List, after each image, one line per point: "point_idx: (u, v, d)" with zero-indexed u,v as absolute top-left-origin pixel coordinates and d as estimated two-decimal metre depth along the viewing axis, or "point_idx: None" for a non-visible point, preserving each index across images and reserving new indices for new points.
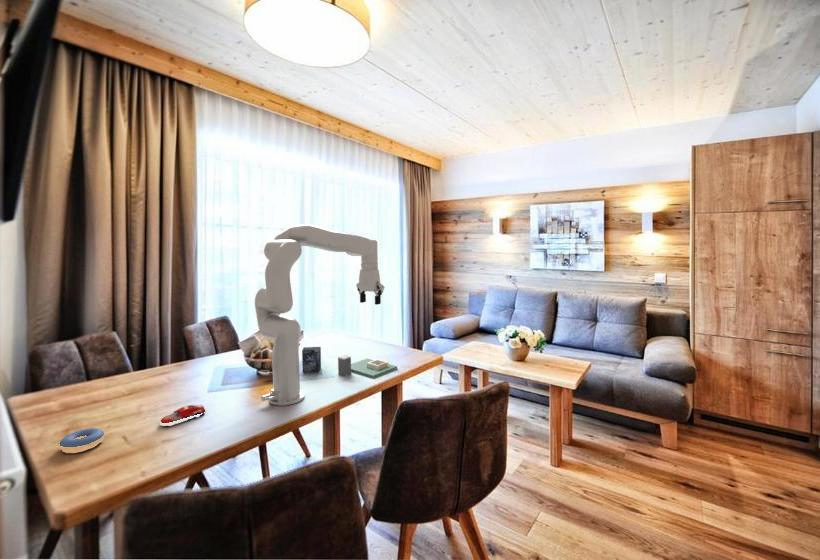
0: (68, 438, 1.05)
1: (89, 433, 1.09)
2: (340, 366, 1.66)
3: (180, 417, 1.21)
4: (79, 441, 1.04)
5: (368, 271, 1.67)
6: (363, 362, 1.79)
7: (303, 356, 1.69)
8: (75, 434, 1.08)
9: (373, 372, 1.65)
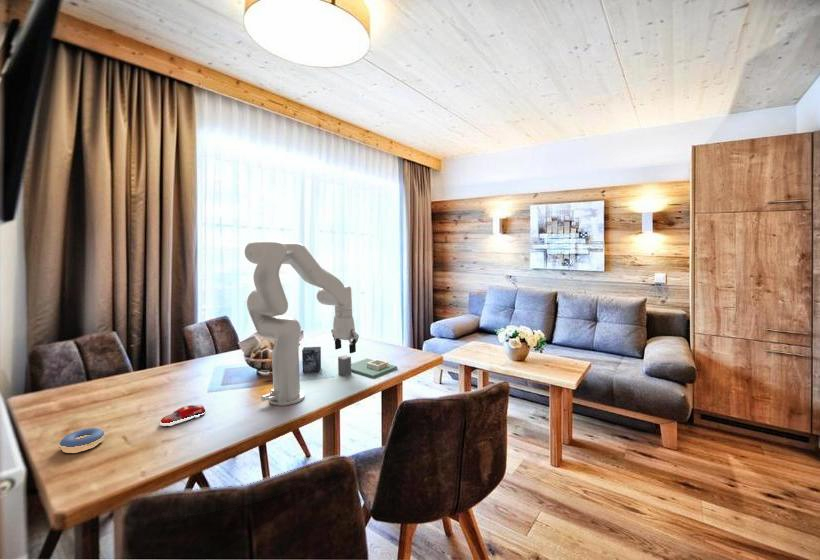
0: (68, 438, 1.05)
1: (89, 433, 1.09)
2: (340, 366, 1.66)
3: (180, 417, 1.21)
4: (79, 441, 1.04)
5: (342, 319, 1.62)
6: (363, 362, 1.79)
7: (303, 356, 1.69)
8: (75, 434, 1.08)
9: (373, 372, 1.65)
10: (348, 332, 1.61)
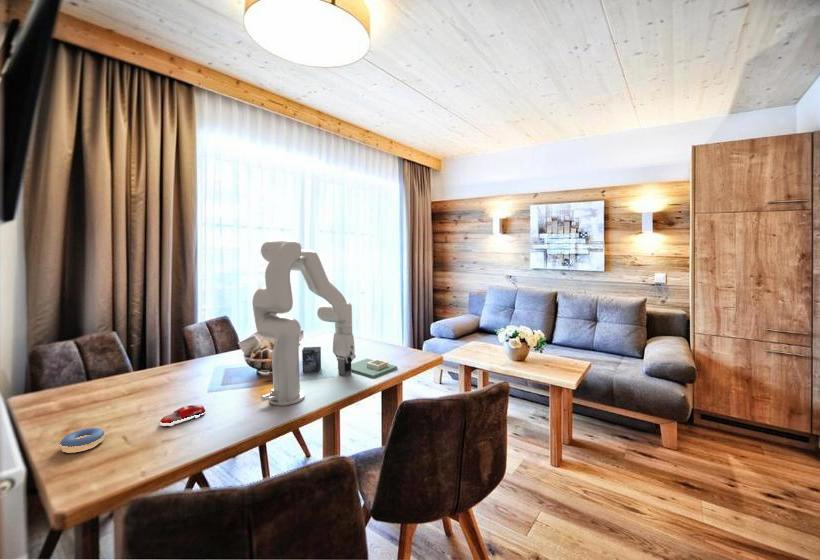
0: (69, 438, 1.05)
1: (90, 433, 1.09)
2: (340, 365, 1.66)
3: (180, 417, 1.21)
4: (80, 441, 1.04)
5: (342, 336, 1.62)
6: (363, 362, 1.79)
7: (303, 356, 1.69)
8: (76, 434, 1.08)
9: (373, 372, 1.65)
10: (348, 349, 1.61)
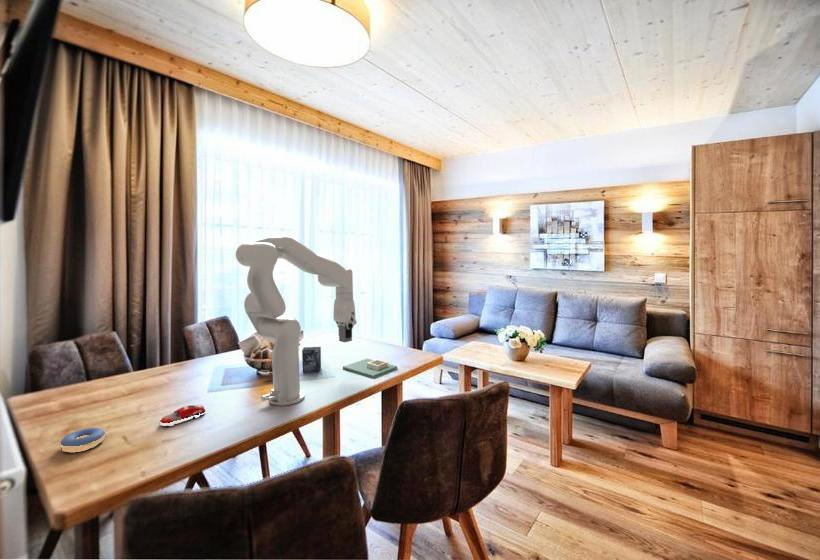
0: (69, 437, 1.05)
1: (90, 432, 1.09)
2: (341, 332, 1.65)
3: (180, 417, 1.21)
4: (80, 440, 1.04)
5: (342, 302, 1.61)
6: (363, 362, 1.79)
7: (303, 356, 1.69)
8: (76, 433, 1.08)
9: (373, 372, 1.65)
10: (348, 315, 1.60)
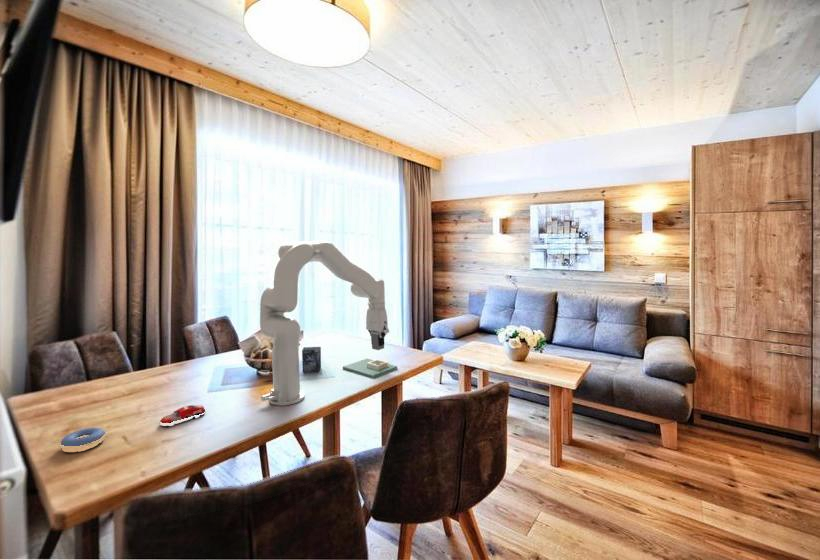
0: (69, 437, 1.05)
1: (90, 432, 1.09)
2: (374, 340, 1.72)
3: (180, 417, 1.21)
4: (80, 440, 1.04)
5: (375, 311, 1.68)
6: (363, 362, 1.79)
7: (303, 356, 1.69)
8: (76, 433, 1.08)
9: (373, 372, 1.65)
10: (382, 324, 1.67)
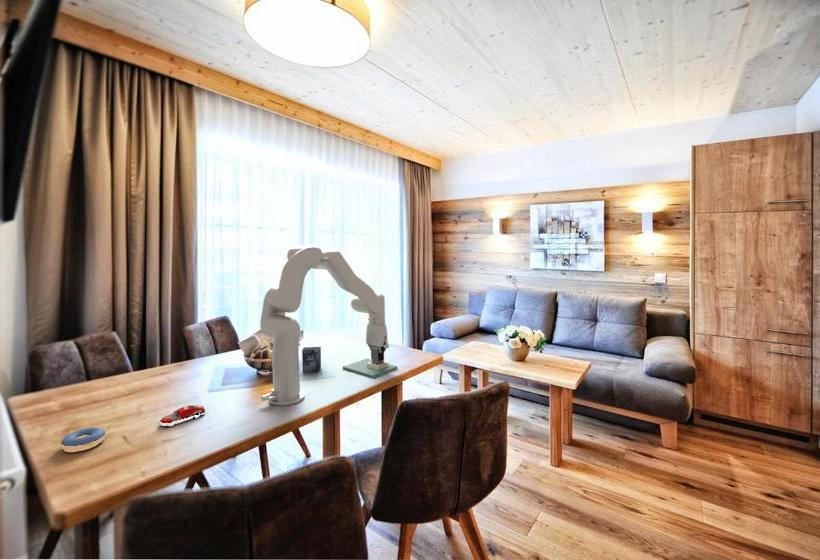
0: (69, 437, 1.05)
1: (90, 432, 1.09)
2: (374, 355, 1.72)
3: (180, 417, 1.21)
4: (80, 440, 1.04)
5: (375, 326, 1.69)
6: (363, 362, 1.79)
7: (303, 356, 1.69)
8: (76, 433, 1.08)
9: (373, 372, 1.65)
10: (381, 339, 1.68)
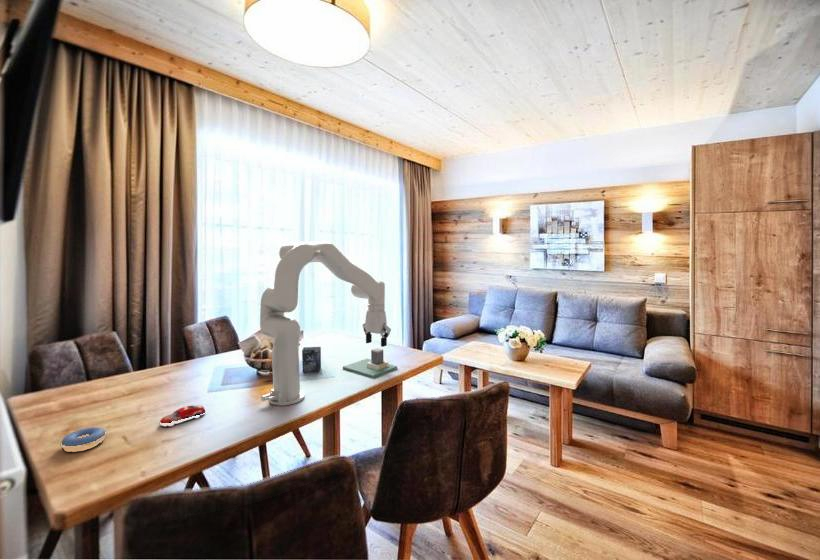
0: (70, 437, 1.05)
1: (90, 432, 1.10)
2: (373, 358, 1.72)
3: (179, 417, 1.21)
4: (81, 440, 1.04)
5: (375, 313, 1.68)
6: (363, 362, 1.79)
7: (303, 356, 1.69)
8: (77, 433, 1.08)
9: (373, 372, 1.65)
10: (381, 326, 1.67)
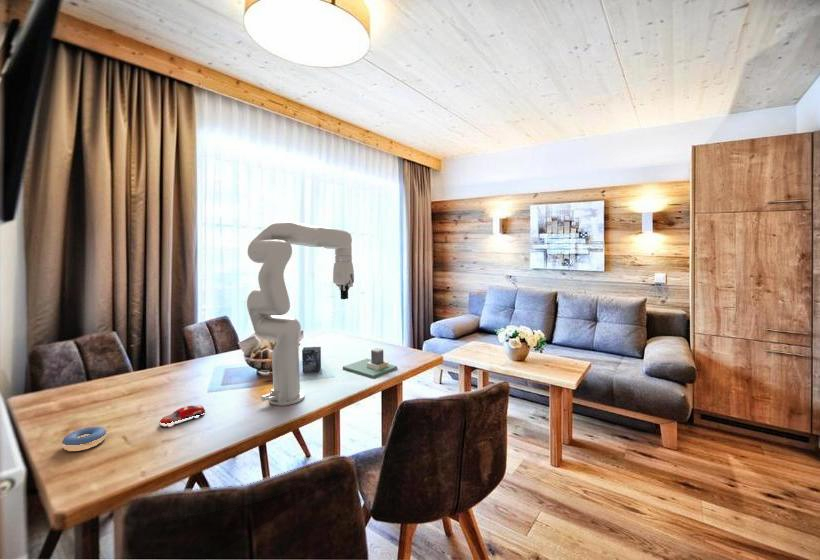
0: (71, 436, 1.06)
1: (91, 431, 1.10)
2: (373, 358, 1.72)
3: (179, 418, 1.21)
4: (82, 439, 1.05)
5: (341, 264, 1.68)
6: (363, 362, 1.79)
7: (303, 356, 1.69)
8: (77, 432, 1.09)
9: (373, 372, 1.65)
10: (347, 276, 1.67)
